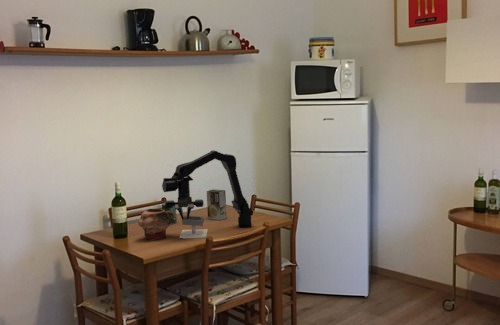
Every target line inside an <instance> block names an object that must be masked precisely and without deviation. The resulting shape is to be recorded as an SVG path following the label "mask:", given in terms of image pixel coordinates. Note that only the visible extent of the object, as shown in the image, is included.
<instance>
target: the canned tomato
mask: <svg viewBox="0 0 500 325" xmlns="http://www.w3.org/2000/svg"><path fill="white" fill-rule="evenodd" d="M166 202H167V201H165V202H163V203H161V209H162V210H165V211H166V212H167V211H170V212H172V213H173V215H174V219H173V221H172V223H171V224H170V225H175V223H176V224H177V223H178V220H177V218H178V217H177V209H175V206H173V207H172V208H165V203H166ZM168 219H169V222H170V221H171V216H170V215H168Z"/></svg>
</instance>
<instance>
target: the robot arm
mask: <svg viewBox="0 0 500 325" xmlns="http://www.w3.org/2000/svg"><path fill="white" fill-rule="evenodd" d="M214 160H217V161H218V162H220V163H221V165H222V167H223V168H224V170H225V171H226V173H227V176H228V180H229V183H230V188H231V191H232V195H233V200H231V204H232V208H233V209H234V210H235V211H236V212H237V214H238V217H237V218H238V219H237V220H238V222H237V223H238V224H237V225H238V227H239V228H252V227H253V226H252V216H253V215H254V210H253V209H252V208H250V206H249V203H248V201H247V200H246V198H245V197H244V195H243V191H242V188H241V184H240V181H239V177H238V174H237V173H238V172H237V171H236V170H237V158H236V157H235V155H233V154H227V153H221V152H219V151H218V150H214V149H213V150H211V151H209V152H207V153H204V154H203V155H201V156H199V157H197V158H196V159H194V160H191V161H188V162H184V163H180V164H178V165H177V166H176V168H175V171H174V173H173V175H172V176H171V177H165V178H163V179H162V180H163V181H162V185H161V187H162V191H163V193H168V192H169V193H170V192H176V191H177V196H178V197H177V201H175V200H173V199H172V200H166V201H165V202H166V203H165V202H164V203H165V208H172V207H173V206H175V209H176V211H178V213H179V216H180V218H181V219H182V220H183V218H184V211H183V208H187V211H186V215H187V219H188V218H189V216H191V215H190V213H191V211H192V209H193V210H194V208H195V207H196V208H203V207H204V203H205V202H204V200H203V199H195V200H193V198H192V196H191V191H190V190H191V189H190V181H194V179H193V178H192V177H191V176H190V175H192V174H193V172H195V170H197V169H199V168H200V167H202V166H204V165H206V164H208V163H210V162H212V161H214Z"/></svg>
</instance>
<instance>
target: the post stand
mask: <svg viewBox="0 0 500 325" xmlns="http://www.w3.org/2000/svg"><path fill="white" fill-rule="evenodd" d="M208 232H209V229H208V228H206V229H197V228H196V226H195V225H191V229H182V231H181V232H180V235H179V239H180V238H183V239H206V238H207V236H208Z"/></svg>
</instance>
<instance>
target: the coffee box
mask: <svg viewBox="0 0 500 325" xmlns="http://www.w3.org/2000/svg"><path fill="white" fill-rule="evenodd" d="M226 196H227V195H226V190H225V189H213V188H212V189H210V190H206V204H207V205H206V206H207V219H208V220H217V221H222V220H225V219H227V202H226V201H227V200H226Z"/></svg>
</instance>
